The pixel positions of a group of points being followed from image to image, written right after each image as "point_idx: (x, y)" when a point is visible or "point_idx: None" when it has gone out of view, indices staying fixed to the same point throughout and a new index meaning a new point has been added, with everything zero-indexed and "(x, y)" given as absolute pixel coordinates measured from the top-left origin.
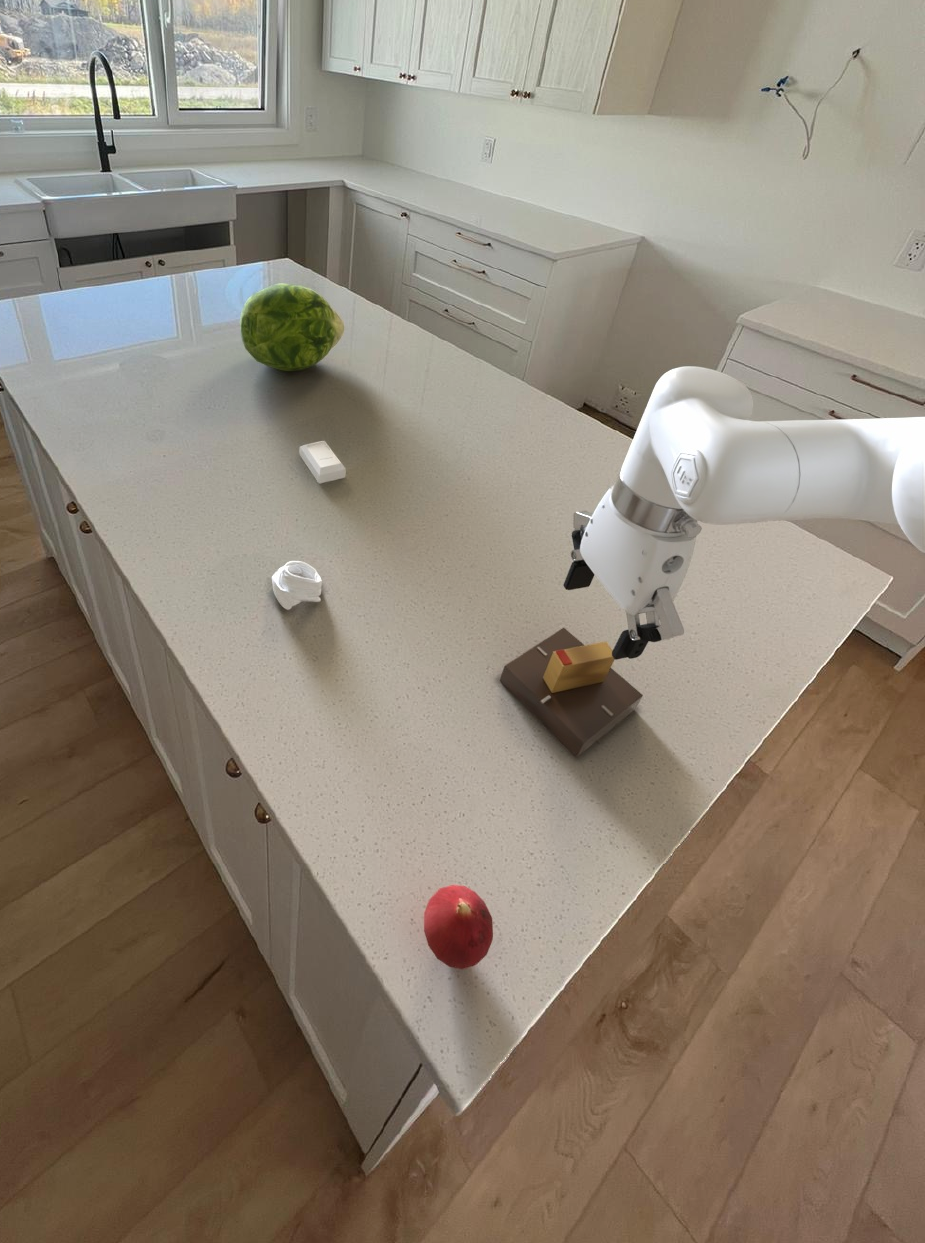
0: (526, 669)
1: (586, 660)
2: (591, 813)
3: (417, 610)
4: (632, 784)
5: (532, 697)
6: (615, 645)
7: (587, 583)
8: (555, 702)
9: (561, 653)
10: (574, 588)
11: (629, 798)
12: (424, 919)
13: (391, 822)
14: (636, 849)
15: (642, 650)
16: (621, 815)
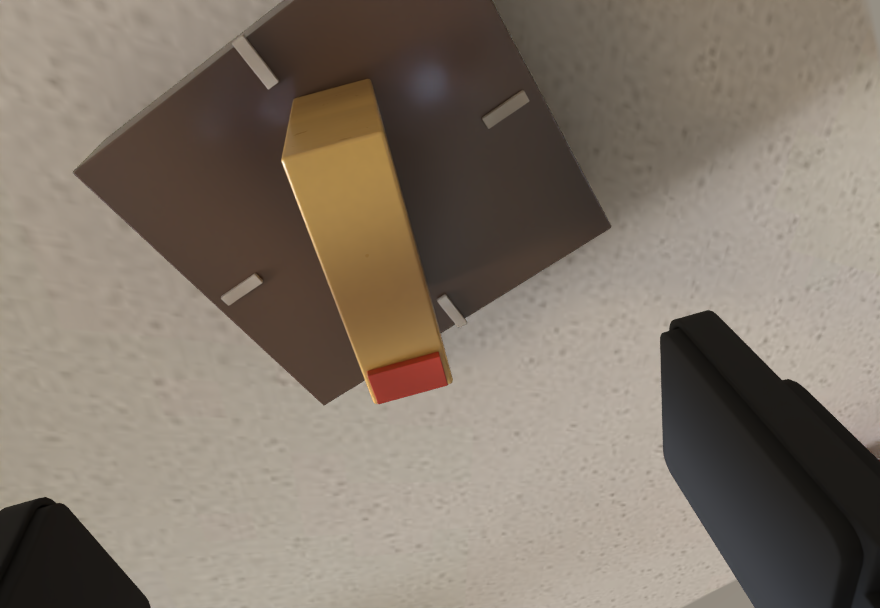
0: (332, 347)
1: (416, 288)
2: (730, 193)
3: (97, 532)
4: (689, 38)
5: None
6: (707, 529)
7: (60, 553)
8: (462, 282)
9: (391, 388)
10: (122, 580)
11: (724, 67)
12: None
13: (646, 540)
14: (844, 100)
15: (827, 420)
16: (758, 111)
